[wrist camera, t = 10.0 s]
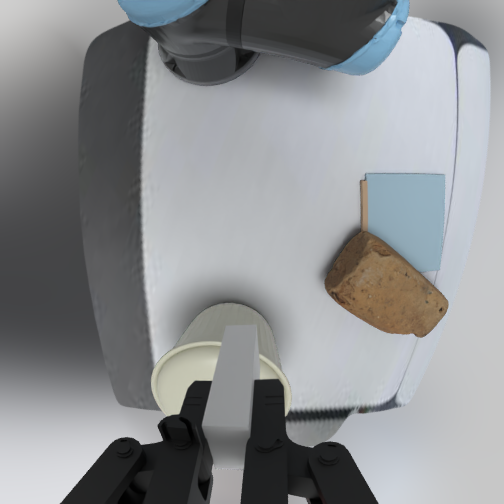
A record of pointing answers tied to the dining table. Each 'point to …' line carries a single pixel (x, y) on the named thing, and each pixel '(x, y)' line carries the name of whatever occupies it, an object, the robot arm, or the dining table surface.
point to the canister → (211, 355)
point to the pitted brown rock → (384, 288)
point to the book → (406, 215)
